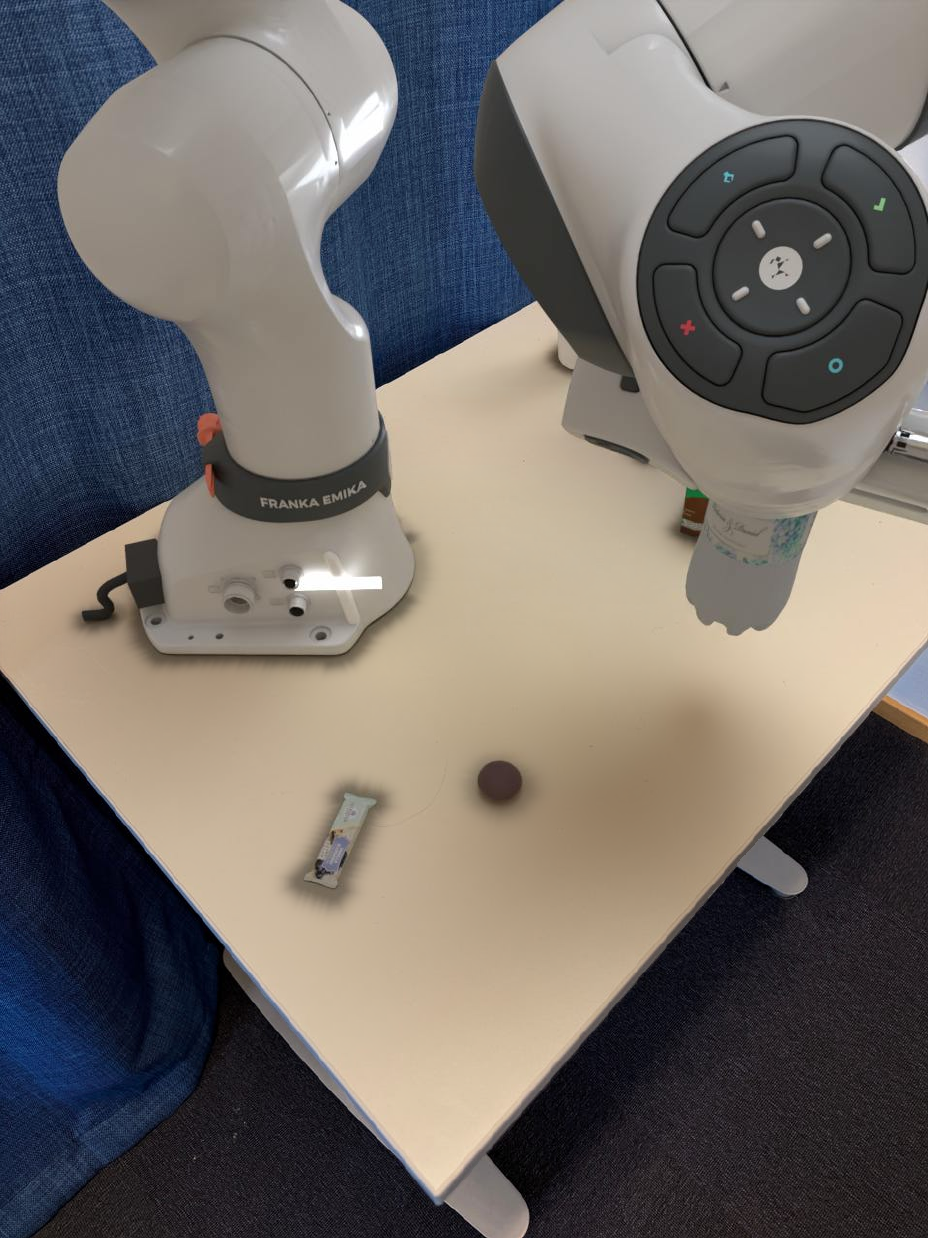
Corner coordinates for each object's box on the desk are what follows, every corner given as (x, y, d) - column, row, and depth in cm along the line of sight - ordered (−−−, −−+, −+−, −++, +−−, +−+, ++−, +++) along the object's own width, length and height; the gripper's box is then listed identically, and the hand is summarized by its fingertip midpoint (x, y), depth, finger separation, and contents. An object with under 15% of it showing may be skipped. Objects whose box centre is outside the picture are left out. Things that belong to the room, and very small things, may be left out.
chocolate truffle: (476, 805, 61) (476, 793, 59) (478, 767, 63) (478, 754, 61) (521, 807, 60) (522, 794, 59) (521, 768, 62) (522, 755, 61)
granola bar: (346, 795, 62) (344, 787, 61) (377, 804, 61) (376, 796, 60) (304, 883, 58) (301, 875, 57) (337, 893, 57) (335, 886, 56)
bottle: (655, 600, 59) (717, 318, 44) (727, 556, 61) (808, 276, 46) (733, 664, 55) (830, 381, 40) (806, 615, 58) (922, 332, 43)
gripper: (1089, 395, 33) (999, 456, 46) (571, 278, 39) (621, 361, 53) (1025, 559, 34) (955, 573, 47) (526, 418, 40) (586, 466, 53)
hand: (776, 461), depth 50 cm, fingers closed on bottle, 6 cm apart
